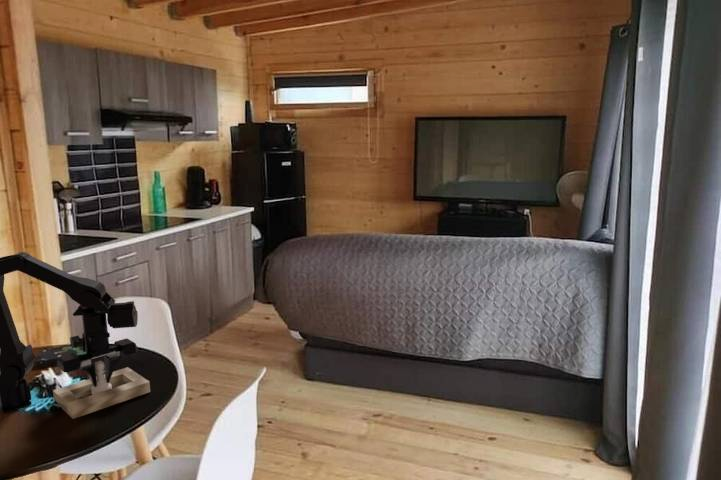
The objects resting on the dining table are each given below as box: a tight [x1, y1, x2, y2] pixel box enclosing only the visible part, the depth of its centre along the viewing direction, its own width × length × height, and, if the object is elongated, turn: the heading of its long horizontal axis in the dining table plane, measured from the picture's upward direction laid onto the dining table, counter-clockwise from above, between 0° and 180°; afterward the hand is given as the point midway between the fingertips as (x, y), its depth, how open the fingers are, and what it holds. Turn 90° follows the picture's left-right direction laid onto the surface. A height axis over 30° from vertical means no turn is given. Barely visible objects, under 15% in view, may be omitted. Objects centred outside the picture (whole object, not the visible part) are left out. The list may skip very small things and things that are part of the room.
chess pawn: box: [91, 360, 113, 395], centre depth 147 cm, size 5×5×9 cm
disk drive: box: [34, 345, 86, 369], centre depth 174 cm, size 10×3×15 cm
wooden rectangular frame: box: [52, 366, 151, 420], centre depth 147 cm, size 20×14×3 cm
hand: (101, 384), depth 147 cm, fingers closed on chess pawn, 3 cm apart
